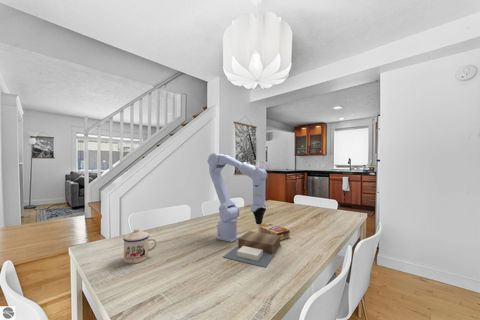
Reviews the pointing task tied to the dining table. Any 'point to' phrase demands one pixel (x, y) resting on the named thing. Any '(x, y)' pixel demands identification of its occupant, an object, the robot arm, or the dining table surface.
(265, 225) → the candy box
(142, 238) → the teacup with lid
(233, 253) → the slate mat
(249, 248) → the cream rectangular block
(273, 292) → the dining table surface
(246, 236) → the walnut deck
